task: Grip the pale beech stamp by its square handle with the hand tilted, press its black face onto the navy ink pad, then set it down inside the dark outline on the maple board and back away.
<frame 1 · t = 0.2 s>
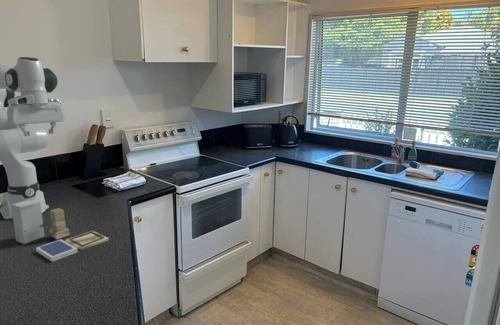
hand: (39, 134, 147), 39 cm above the worktop, tool pointing down, fingers open, 8 cm apart
ink pad: (57, 251, 134), on the worktop
stamp: (60, 236, 146), on the worktop
box board: (87, 240, 143), on the worktop
skincare box: (30, 239, 144), on the worktop
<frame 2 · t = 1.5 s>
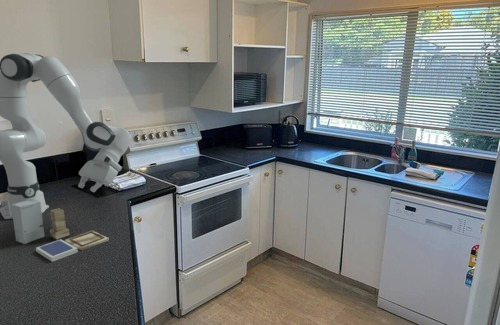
hand: (85, 189, 152), 17 cm above the worktop, tool tilted 45°, fingers open, 8 cm apart
nothing on the worktop moved.
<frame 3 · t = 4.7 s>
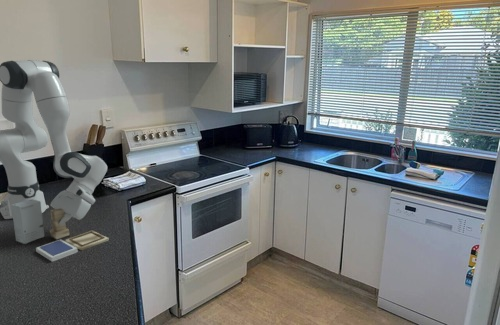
hand: (56, 223, 144), 6 cm above the worktop, tool tilted 45°, fingers closed on stamp, 3 cm apart
stamp: (60, 236, 146), on the worktop, touching gripper
everything else where it was.
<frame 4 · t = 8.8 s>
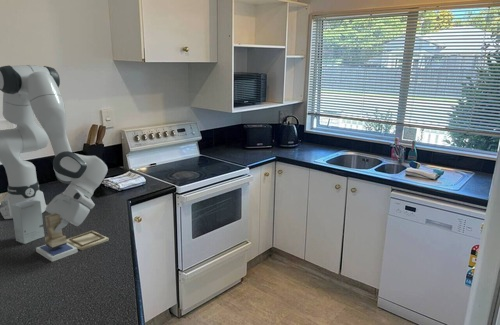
hand: (52, 229, 131), 9 cm above the worktop, tool tilted 45°, fingers closed on stamp, 3 cm apart
stamp: (56, 244, 133), point 3 cm above the worktop, touching gripper
everything else where it was.
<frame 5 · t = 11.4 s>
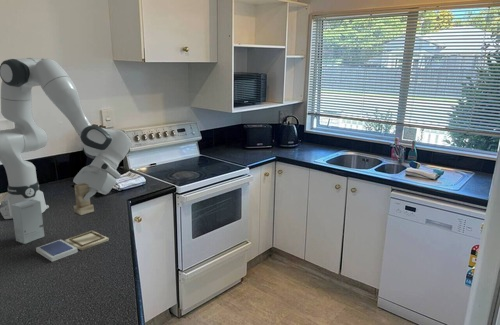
hand: (81, 198, 138), 17 cm above the worktop, tool tilted 45°, fingers closed on stamp, 3 cm apart
stamp: (84, 212, 140), point 11 cm above the worktop, touching gripper
everything else where it was.
when the fingers open (8 cm above the worktop, at t = 13.4 s): stamp drops 1 cm, resting on box board.
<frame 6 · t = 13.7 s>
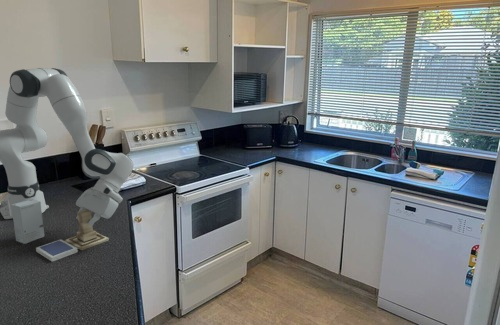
hand: (83, 222, 140), 8 cm above the worktop, tool tilted 45°, fingers open, 6 cm apart
stamp: (87, 238, 142), point 1 cm above the worktop, touching box board
everything else where it was.
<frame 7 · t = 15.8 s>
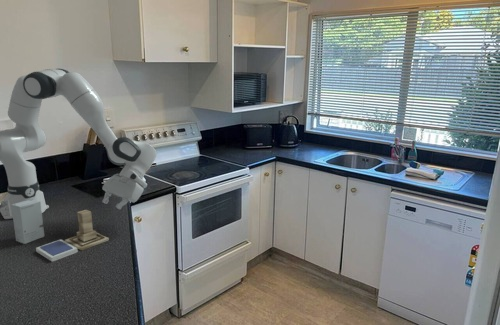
hand: (110, 205, 150), 11 cm above the worktop, tool tilted 45°, fingers open, 8 cm apart
nothing on the worktop moved.
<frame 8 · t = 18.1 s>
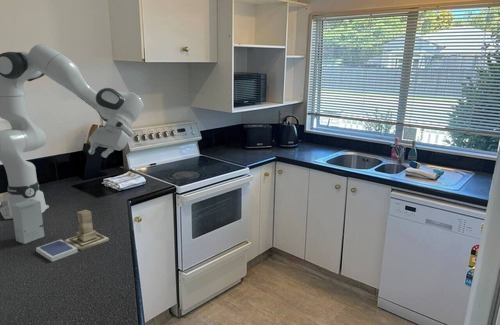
hand: (96, 155, 146), 31 cm above the worktop, tool tilted 45°, fingers open, 8 cm apart
nothing on the worktop moved.
at the end: stamp inside the target area on the box board (0.1 cm from its centre), point 0.8 cm above the box board's base; stamp tilted 0°; the gripper is holding nothing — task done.
